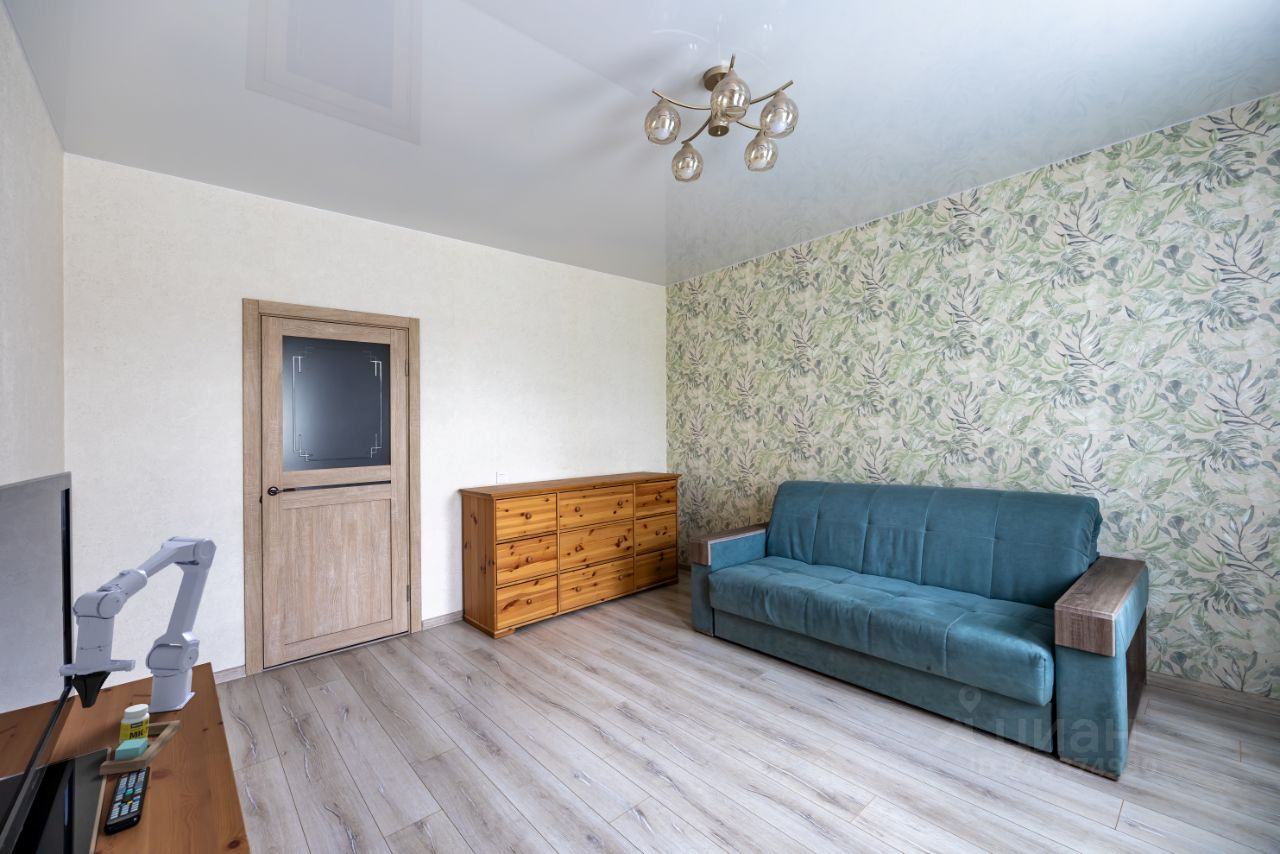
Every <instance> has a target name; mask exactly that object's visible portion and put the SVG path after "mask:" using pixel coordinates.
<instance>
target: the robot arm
mask: <svg viewBox="0 0 1280 854" xmlns="http://www.w3.org/2000/svg"><path fill="white" fill-rule="evenodd" d="M217 548H218V547H217V545H216V543H215V542H214V541H213V539H212V538H210V537H188V536H187V537H186V536H178V535H174V536H172V537H170V538H168V539H167V540H165V541H164V542H162V543H161V545H160V549H159V550H158V551H157V552H155V553H154V554H152V555H151V556H150V557H149V558H148V559H147V560H144V562H143V563H142V564H140V565H139V566H138V567H137V568H135V569H134V568H129V569H122V570H121V571H119V573H118V575H116V576H115V577H114V578H112V579H111V580H109V581H107V582H106V583H104V584H102V585H100V587H99V588H97V589H95V590H90V591H86V592H85V593H84V594H81V595H80V596H79V597H78V598H77V599H76V600H75V602H74V605H73V606H72V607H71V612H72V614H73V616H74V617H75V619H76V620H75V624H76V625H77V626H78V628H77V629H78V630H77V638H76V649H75V659H74V663H69V664H63V665H60V666H61V667H60V669H59V673H60V676H59V677H69V676H73V677H72V679H71V680H70V684H71V686H72V687H73V688H74V689H75V691H76V693H77V694H78V697H79V699H80V703H81V707H82V709H89V708H92V707H93V706H94V705H96V701H97V699H98V697H99V694H100V691H101V690H102V688H103V686H104V684H105V682H106V680H107V679H108V677H109V676H110V675H111V673H113V672H114V673H115V672H124V671H125V672H127V673H128V672H132V671H134V670H135V668H136V659H111V658H112V649H113V641H114V640H113V639H114V638H113V637H114V627H115V619H116V618H115V616H116V615H118V614H119V613H120V612H121V611H122V609H123V607H124V605H125V604H126V603H127V602H128V599H130V598H132V597H133V596H134V595H135V594H136V593H138V592H140V591H141V590H142V589H144V588H145V587H147V584H148V579H149V578H151V577H152V576H154V575H156V574H158V572H160V571H162V570H164V569H165V568H167V567H169V566H170V565H172V564H174V565H175V566H177V567H179V568H180V569H181V571H182V572H183V576H182V579H181V582H180V586H179V589H178V593H177V595H176V599H175V602H174V606H173V609H172V611H171V615H170V619H169V621H168V622H169V623H168V625H167V629H166V632H165V633H164V634H163V635H161V636H158V637H157V638H156V639H154V642H153V645H152V647H151V648H150V649H149V651H148V653H147V655H146V657H145V666H146V668H147V669H148V670H150V674H152V684H151V694H150V695H151V697H150V704H148V712H147V713H148V714H152V713H161V712H162V713H163V712H169V711H177V710H182V709H183V707H185V706H186V705H187V703H188V702H189V701H190V700H191V699H192V698H193V697H194V696H195V694H196V692H194V691H193V692H191V691H192V681H193V680H192V679H193V670H192V668H193V667H194V666H195V665H196V663H197V662H198V659H199V657H200V656H199V655H200V654H199V653H200V652H199V645H200V642H201V641H200V639H199V638H198V637H197V636H195V635H194V634H193V629H194V625H195V622H196V619H197V615H198V612H199V608H200V605H201V601H202V597H203V593H204V591H205V587H206V583H207V580H208V577H209V573H210V571H211V568H212V565H213V561H214V559H215V558H214V557H215V555H216V551H217Z"/></svg>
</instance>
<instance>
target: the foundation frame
mask: <svg viewBox="0 0 1280 854" xmlns="http://www.w3.org/2000/svg"><path fill="white" fill-rule="evenodd" d="M180 726H181V720H180V719H179V720H169V721H160V722H153V723H149V724H148V735H147V736H151V735H159V736H158V737H156V739H155V740H154V741H148V746H147V750H146V751H145V752H144V753H143V755H142V756H141V757H136V758H128V759H121V760H115V759H114V760H113V759H112V760H107V761H104V762H103V763H101V765H100V767H99V773H98V774H99V775H98V776H104V775H113V774H118V773H119V774H121V773H126V772H133V771H134V772H135V771H140V770H139V769H142V770H144V769H143V768H145V769H147V767H148V766H149V765H150V764H151V763H152V762H153V760H154V759H155V758H156V757H157V756H158V755H159V753H160V752H161V751H162V750H163V749H164V747H166V745H167V744H168V743H169V741H170V740H171V739H172V738H173V737H174V735H175V734H176V733H177V732H178V731H179V730H180V729H181V727H180Z"/></svg>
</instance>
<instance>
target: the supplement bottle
mask: <svg viewBox="0 0 1280 854" xmlns="http://www.w3.org/2000/svg"><path fill="white" fill-rule="evenodd" d="M148 706H149V704H145V703H140V704H135V705H132V706H129V707H127V708H126V709H124V714H123V718H122V719H121V721H120V729H119V739H118V740H119V741H118V747H119V746H120V745H121V744H122V743H123V742H124V741H126V740H134V739H142V738H148V736H149V735H148V724H150V713H147V712H148Z"/></svg>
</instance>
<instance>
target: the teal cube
mask: <svg viewBox="0 0 1280 854" xmlns="http://www.w3.org/2000/svg"><path fill="white" fill-rule="evenodd" d="M148 742H149V737H147V738H142V739H134V740H126V741H124V742H123V743H122V744H121V745H120V746H119V745H118V747H117V748H116V749H115V750H114V752H115V754H114V760H121V759H128V758H136V757H141V756H142V755H143V753H144V752H145V751H146V750H147V746H148Z"/></svg>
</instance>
